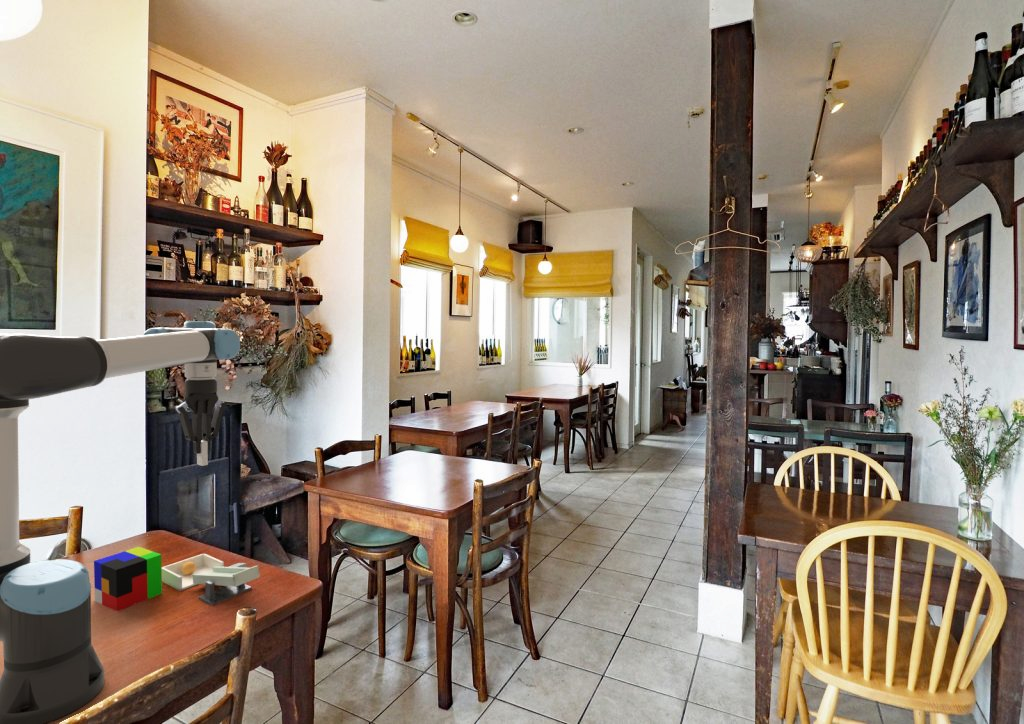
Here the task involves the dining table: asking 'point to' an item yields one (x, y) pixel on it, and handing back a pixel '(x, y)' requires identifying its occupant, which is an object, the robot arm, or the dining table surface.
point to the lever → (228, 575)
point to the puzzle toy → (127, 578)
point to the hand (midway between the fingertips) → (202, 464)
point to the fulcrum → (221, 592)
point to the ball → (188, 568)
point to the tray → (182, 581)
